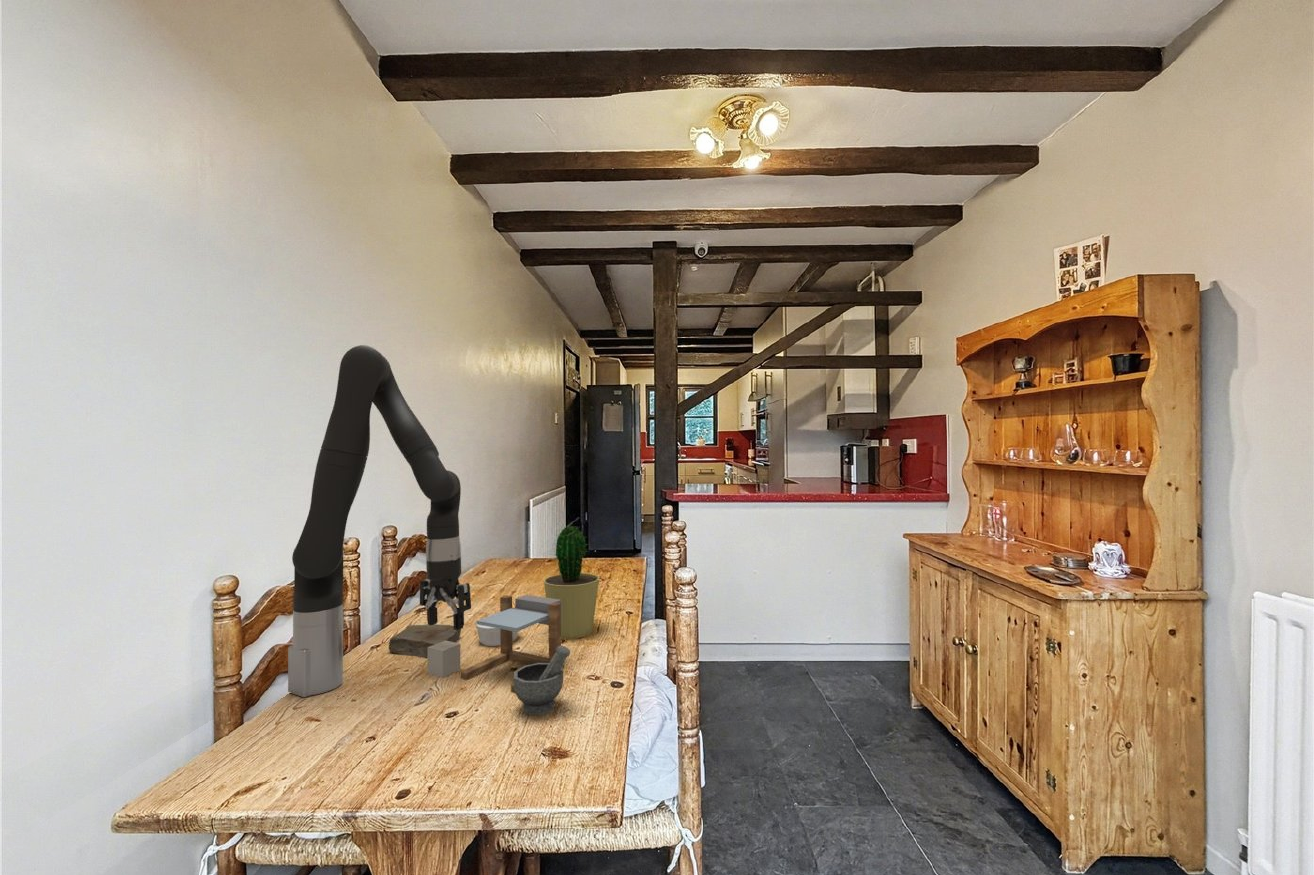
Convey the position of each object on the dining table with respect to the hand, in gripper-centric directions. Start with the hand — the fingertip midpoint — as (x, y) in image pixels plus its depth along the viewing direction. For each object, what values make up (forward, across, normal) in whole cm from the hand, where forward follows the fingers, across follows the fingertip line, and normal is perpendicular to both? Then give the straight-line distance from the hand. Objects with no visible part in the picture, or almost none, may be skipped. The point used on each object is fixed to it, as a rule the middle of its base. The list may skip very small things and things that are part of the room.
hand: (445, 626), depth 124 cm
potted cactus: (+11, +10, +34) cm, 37 cm away
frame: (+10, +15, +6) cm, 19 cm away
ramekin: (+11, -4, +20) cm, 23 cm away
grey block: (+10, 0, -1) cm, 10 cm away
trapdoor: (+1, +15, +9) cm, 17 cm away
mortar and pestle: (+10, +32, -5) cm, 34 cm away
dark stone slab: (+11, -18, +8) cm, 23 cm away
